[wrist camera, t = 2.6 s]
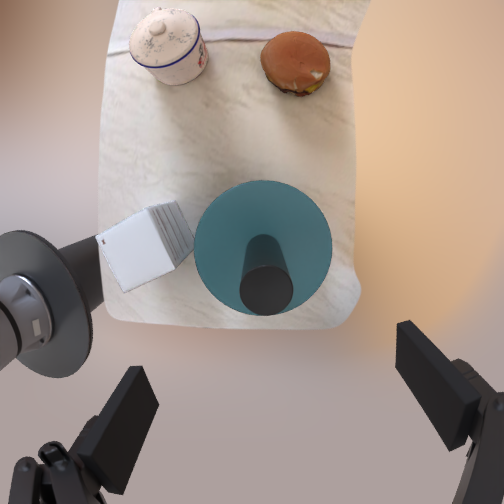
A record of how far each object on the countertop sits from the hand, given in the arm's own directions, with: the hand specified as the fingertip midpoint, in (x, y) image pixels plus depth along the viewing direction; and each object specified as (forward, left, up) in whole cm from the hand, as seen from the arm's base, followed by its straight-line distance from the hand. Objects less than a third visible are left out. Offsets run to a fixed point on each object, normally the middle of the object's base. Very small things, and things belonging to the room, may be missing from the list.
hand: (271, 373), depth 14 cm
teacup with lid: (-11, +30, -30) cm, 44 cm away
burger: (+6, +26, -30) cm, 40 cm away
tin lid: (0, +2, -19) cm, 19 cm away
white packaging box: (-14, +3, -30) cm, 33 cm away
